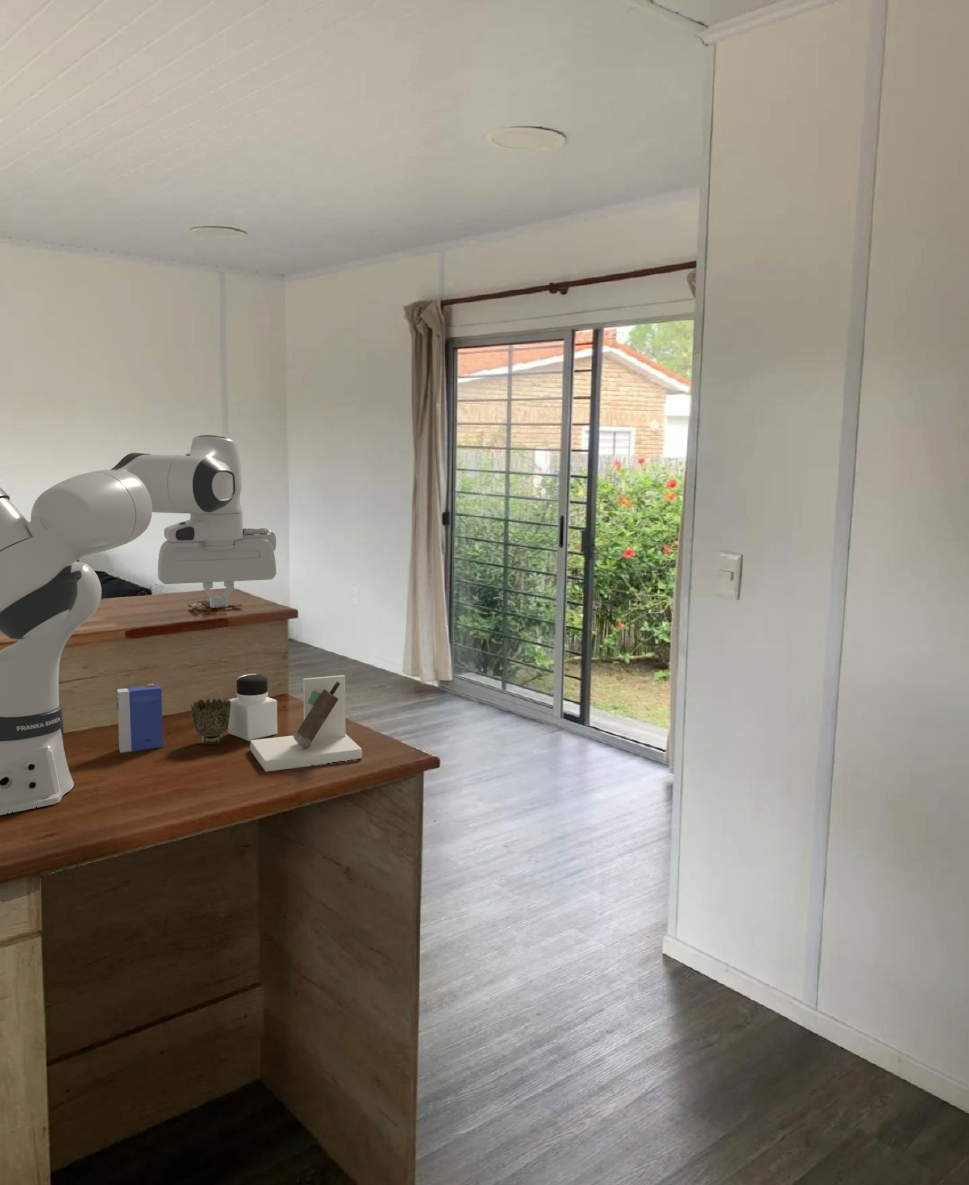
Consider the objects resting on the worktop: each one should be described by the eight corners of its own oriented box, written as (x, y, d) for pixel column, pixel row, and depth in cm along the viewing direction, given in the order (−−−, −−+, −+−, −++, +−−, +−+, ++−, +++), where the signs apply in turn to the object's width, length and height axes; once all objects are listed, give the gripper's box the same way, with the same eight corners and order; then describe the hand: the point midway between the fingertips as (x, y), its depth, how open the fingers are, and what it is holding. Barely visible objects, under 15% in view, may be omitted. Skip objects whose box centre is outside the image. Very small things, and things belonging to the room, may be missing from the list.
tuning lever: (298, 746, 177) (338, 683, 179) (291, 738, 182) (330, 676, 183) (307, 750, 178) (346, 688, 179) (300, 742, 183) (338, 681, 184)
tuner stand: (265, 771, 173) (264, 695, 170) (250, 750, 184) (249, 678, 182) (362, 759, 180) (361, 686, 178) (341, 739, 192) (341, 671, 190)
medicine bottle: (278, 734, 195) (277, 676, 193) (247, 741, 190) (246, 682, 188) (258, 726, 200) (257, 670, 198) (227, 733, 195) (226, 675, 193)
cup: (225, 749, 185) (224, 708, 184) (187, 748, 185) (185, 707, 184) (236, 737, 192) (235, 698, 191) (199, 736, 192) (198, 697, 191)
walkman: (160, 743, 188) (158, 683, 186) (163, 747, 185) (161, 686, 183) (117, 748, 184) (115, 687, 182) (120, 752, 182) (117, 690, 180)
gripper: (271, 526, 177) (273, 600, 179) (154, 528, 168) (157, 606, 171) (279, 529, 171) (281, 606, 174) (159, 532, 163) (162, 612, 165)
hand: (218, 606), depth 172 cm, fingers closed
